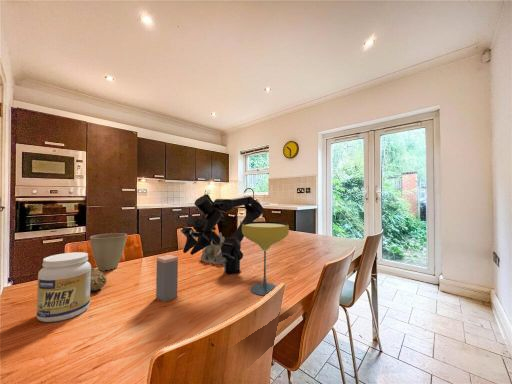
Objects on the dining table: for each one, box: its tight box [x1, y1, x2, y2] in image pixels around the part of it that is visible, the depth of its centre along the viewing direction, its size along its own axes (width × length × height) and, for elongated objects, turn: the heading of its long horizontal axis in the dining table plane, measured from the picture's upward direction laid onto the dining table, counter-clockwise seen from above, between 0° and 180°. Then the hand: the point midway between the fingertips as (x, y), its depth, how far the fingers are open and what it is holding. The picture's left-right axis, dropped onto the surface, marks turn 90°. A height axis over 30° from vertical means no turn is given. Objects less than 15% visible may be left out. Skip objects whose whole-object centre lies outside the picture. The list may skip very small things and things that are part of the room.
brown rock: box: [90, 266, 107, 292], centre depth 85 cm, size 13×8×20 cm
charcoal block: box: [155, 254, 179, 303], centre depth 77 cm, size 5×5×14 cm
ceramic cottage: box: [200, 232, 225, 265], centre depth 121 cm, size 16×16×15 cm
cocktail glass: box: [242, 220, 290, 297], centre depth 84 cm, size 18×18×25 cm
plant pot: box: [89, 232, 128, 272], centre depth 106 cm, size 15×15×16 cm
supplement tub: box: [36, 251, 92, 323], centre depth 67 cm, size 12×12×17 cm
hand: (187, 253), depth 84 cm, fingers open, 4 cm apart
